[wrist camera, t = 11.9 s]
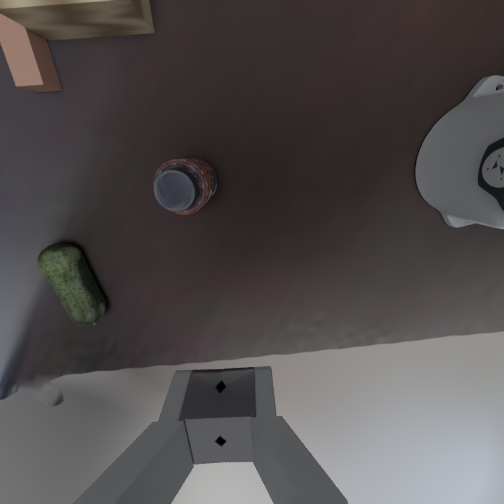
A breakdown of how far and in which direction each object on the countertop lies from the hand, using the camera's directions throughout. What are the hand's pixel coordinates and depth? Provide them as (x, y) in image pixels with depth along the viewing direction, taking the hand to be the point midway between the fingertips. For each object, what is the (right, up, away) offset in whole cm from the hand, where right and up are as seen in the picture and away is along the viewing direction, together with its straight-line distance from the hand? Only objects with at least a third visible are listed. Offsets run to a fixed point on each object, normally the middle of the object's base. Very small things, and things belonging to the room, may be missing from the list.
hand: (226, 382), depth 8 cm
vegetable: (-26, 0, +32) cm, 41 cm away
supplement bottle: (-7, +14, +27) cm, 31 cm away
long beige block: (-16, +30, +20) cm, 40 cm away
